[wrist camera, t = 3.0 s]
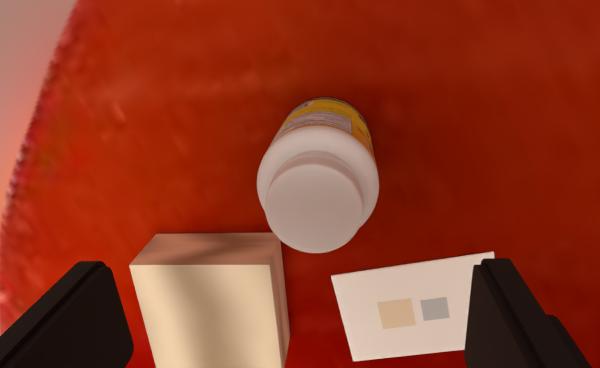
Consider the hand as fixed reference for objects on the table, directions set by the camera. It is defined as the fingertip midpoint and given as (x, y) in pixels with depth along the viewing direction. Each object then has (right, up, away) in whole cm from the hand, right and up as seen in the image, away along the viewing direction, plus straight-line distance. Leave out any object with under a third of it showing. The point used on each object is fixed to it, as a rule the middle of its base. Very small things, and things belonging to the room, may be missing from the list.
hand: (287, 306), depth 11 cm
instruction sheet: (+9, -6, +19) cm, 22 cm away
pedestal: (-5, -4, +20) cm, 21 cm away
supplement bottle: (+2, +6, +15) cm, 17 cm away
